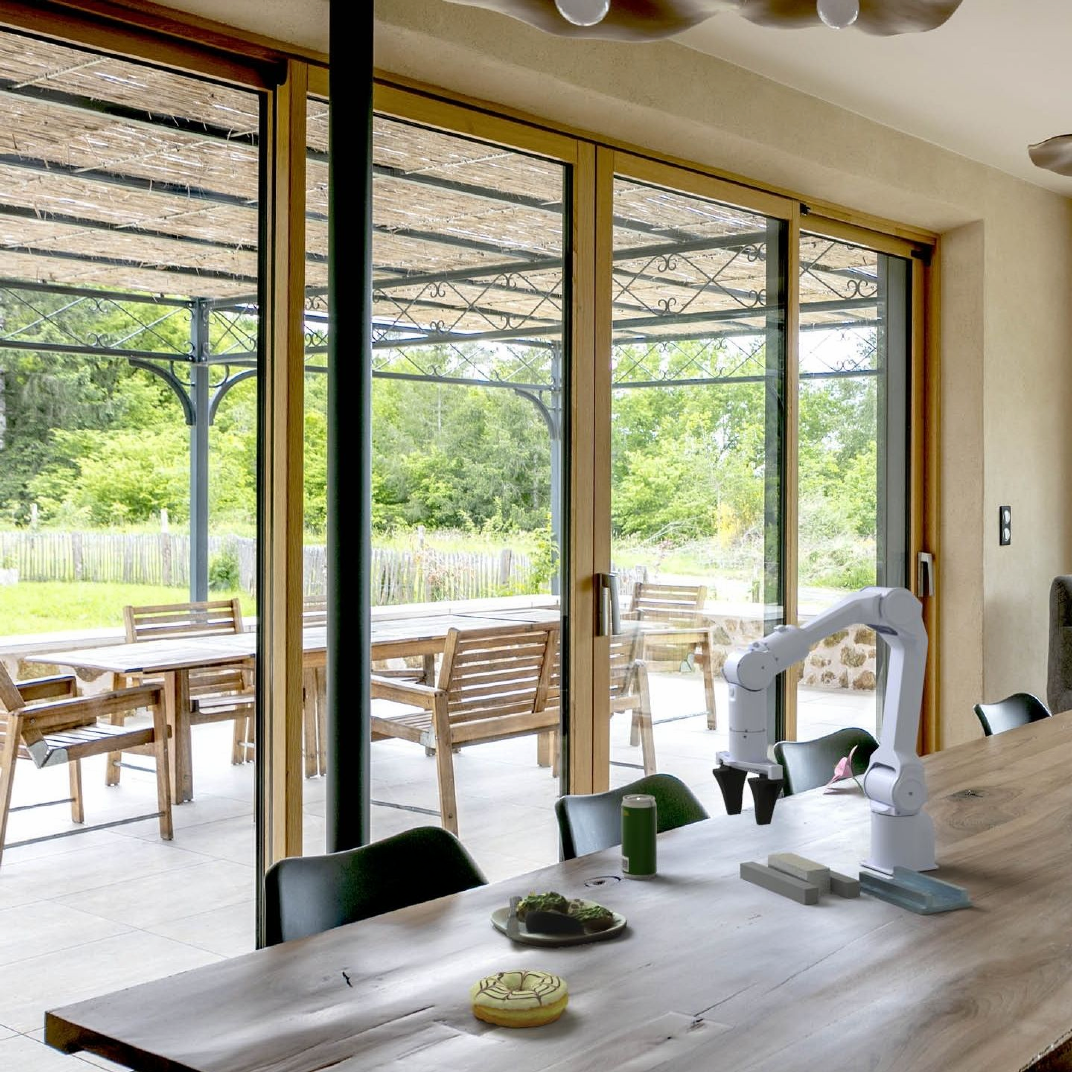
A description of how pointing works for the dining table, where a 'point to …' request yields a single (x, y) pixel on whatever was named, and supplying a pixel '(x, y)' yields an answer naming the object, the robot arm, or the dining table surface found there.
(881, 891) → the cradle
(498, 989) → the decorated donut
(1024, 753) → the dining table surface
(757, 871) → the grey bars
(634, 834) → the beer can
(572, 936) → the salad plate
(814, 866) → the rectangular block
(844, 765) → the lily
